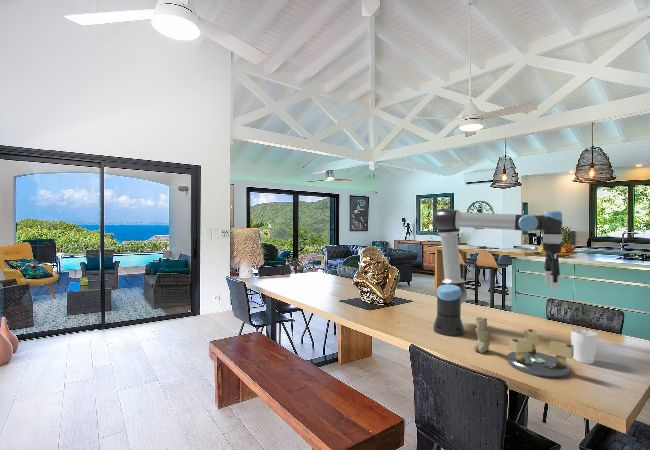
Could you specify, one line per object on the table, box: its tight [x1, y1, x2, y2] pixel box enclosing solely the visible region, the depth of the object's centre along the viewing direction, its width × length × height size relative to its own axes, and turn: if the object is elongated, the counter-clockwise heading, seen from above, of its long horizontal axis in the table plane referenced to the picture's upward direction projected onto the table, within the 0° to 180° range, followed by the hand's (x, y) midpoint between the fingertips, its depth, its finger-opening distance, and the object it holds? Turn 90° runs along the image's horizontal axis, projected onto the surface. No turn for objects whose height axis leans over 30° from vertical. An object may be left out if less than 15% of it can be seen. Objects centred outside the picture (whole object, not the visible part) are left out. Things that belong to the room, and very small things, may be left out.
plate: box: [507, 351, 570, 379], centre depth 137 cm, size 21×21×3 cm
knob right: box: [548, 340, 574, 369], centre depth 131 cm, size 7×4×9 cm, turn 43°
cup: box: [570, 328, 599, 365], centre depth 142 cm, size 9×9×12 cm
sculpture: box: [473, 316, 491, 354], centre depth 152 cm, size 6×7×15 cm
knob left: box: [508, 337, 532, 364], centre depth 135 cm, size 7×4×9 cm, turn 103°
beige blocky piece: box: [524, 328, 541, 354], centre depth 144 cm, size 7×4×9 cm, turn 163°
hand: (551, 286), depth 166 cm, fingers open, 13 cm apart
